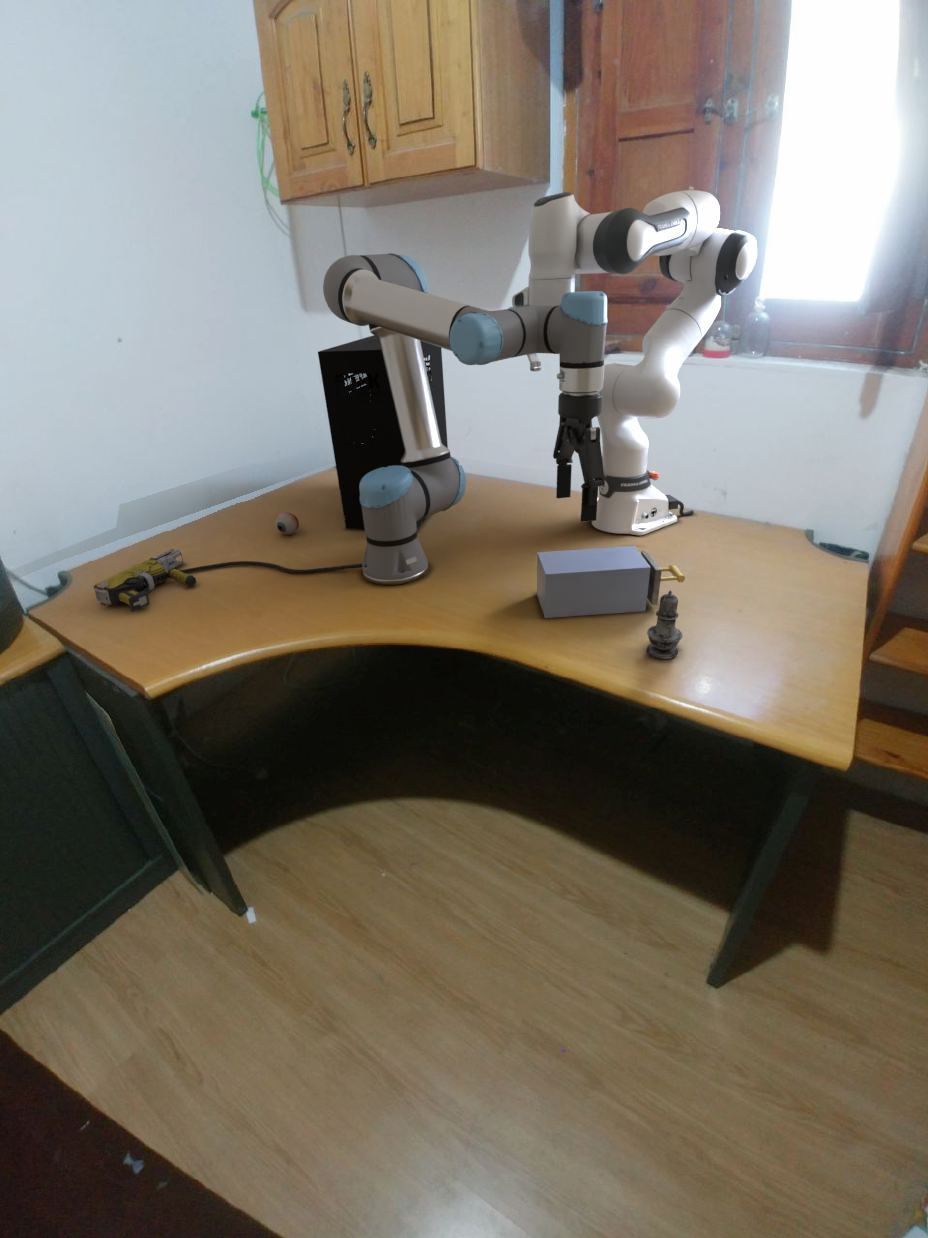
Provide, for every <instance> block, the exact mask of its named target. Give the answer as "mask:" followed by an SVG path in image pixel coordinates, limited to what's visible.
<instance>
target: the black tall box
mask: <svg viewBox="0 0 928 1238" xmlns="http://www.w3.org/2000/svg"><path fill="white" fill-rule="evenodd" d="M420 343H421V347H422V352H423V357H424V362H425V367H426V371H427V376H428V381H429V386H430V391H431V396H432V400H433V405H434V410H435V415H436V420H437V424H438V429H439V434H440V439H441V443H442V444H443V445H444V446H445V447H446V448H448V449H449V446H448V445H449V443H448V429H447V414H446V412H447V411H446V397H445V384H444V381H445V380H444V367H443V351H442V348H441V347H438V346H435V345H432V344H429V343H426V342H423V341H420ZM317 355H318V363H319V368H320V374H321V381H322V386H323V393H324V400H325V407H326V412H327V419H328V425H329V431H330V437H331V445H332V450H333V457H334V463H335V468H336V469H335V470H336V476H337V481H338V482H337V483H338V488H339V494H340V500H341V507H342V513H343V519H344V526H345V529H346V530H347V529H349V530H365V527H364V520H363V513H362V506H361V503H360V489H359V485H360V481H361V479H362V478H363V477H364V476H365V475H366V474H367V473H369V472H371V471H373V470H375V469H378V468H381V467H388V466H394V465H399V466H402V465H401V458H402V457H403V455H404V453H405V449H404V444H403V440H402V436H401V431H400V427H399V423H398V418H397V414H396V410H395V406H394V401H393V397H392V393H391V388H390V384H389V380H388V375H387V371H386V367H385V362H384V358H383V354H382V349H381V345H380V341H379V339H378V338H377V337H376V336H375V335H373V334H372V335H371V336H365V337H363V338H360V339H357V340H353V341H350V342H346V343H343V344H339V345H336V346H332V347H329V348H326V349H322V350H319V351H317ZM427 518H428V517H425V518H423V519H421V520H418V521H416V526H417V530H419V528H420V527H421V526H422V524H423V523H424V522H425V520H426V519H427Z"/></svg>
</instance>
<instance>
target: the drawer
mask: <svg viewBox="0 0 928 1238" xmlns="http://www.w3.org/2000/svg"><path fill="white" fill-rule="evenodd" d="M640 554H641V555H642V557H643V558H644V559H645V561H646V562H647V563H648V565H649V566H650V567H651V568H650V576H649V585H648V594H647V601H648V602H649V604H650V605H651V606H656V605H658V603H659V596H660V588H661V582H671V581H677V583H683V582H685V580H686V576H685V575H684V574H683V573H682V571H681V570H679V568H678V567H677V565H675V564H670V565H669V566H668V567H660V565H659V564H658V563H657V561H656V560H655V559H654V558H653V557H652V555H651V554H650V553H649V551H648V550H641V552H640ZM662 572H670V574H671V575H672V576H662Z"/></svg>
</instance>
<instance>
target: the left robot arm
mask: <svg viewBox="0 0 928 1238" xmlns="http://www.w3.org/2000/svg"><path fill="white" fill-rule="evenodd" d="M322 284H323V285H322V289H323V290H322V291H323V292H322V293H323V297H324V300H325V303H326V305H327V307H328V308H329V310H330V311H331V312H332V314H333V315H334V316H336V317H337V318H338V319H340V320H342V321H344V322H347V323H349V324H351V325H352V324H353V325H355V326H358V327H366V326H368V328H369V329H368V330H369V332H370V334H372V336H373V335H375V336H376V337H377V338H378V339H379V341H380V345H381V349H382V354H383V358H384V362H385V367H386V371H387V375H388V380H389V384H390V388H391V393H392V397H393V401H394V406H395V410H396V414H397V418H398V423H399V427H400V431H401V436H402V440H403V444H404V449H405V453H404V455H403V457H402V458H401V465H402V466H399V465H394V466H388V467H381V468H378V469H375V470H373V471H371V472H369V473H367V474H366V475H365V476H364V477H363V478H362V479H361V481H360V485H359V489H360V503H361V506H362V513H363V520H364V527H365V529H364V534H365V540H366V545H365V551H364V555H363V561H362V563H356V564H355V563H354V564H343V565H337V566H328V567H327V566H326V567H319V568H308V569H297V568H296V569H295V568H288V567H285V566H282V565H279V564H276V563H271V562H264V561H255V560H240V561H239V560H238V561H227V562H220V563H213V564H207V565H202V566H201V565H200V566H196V567H195V566H194V567H190V568H189V567H188V568H184V569H178V571H181V572H183V573H185V574H188V573H193V572H199V571H204V570H205V571H206V570H211V569H217V568H224V567H231V566H260V567H268V568H272V569H273V568H274V569H276V570H279V571H282V572H285V573H289V574H297V575H298V574H299V575H300V574H302V575H303V574H314V573H323V572H333V571H343V570H351V569H362V574H363V575H362V576H363V578H364V579H365V580H366V581H368V582H370V583H373V584H376V585H381V586H399V585H404V584H409V583H412V582H415V581H417V580H419V579H421V578H422V577H424V576H425V575H426V574H427V573H428V571H429V560H428V558H427V555H426V554H425V551H424V549H423V547H422V544H421V542H420V540H419V538H418V537H419V536H418V529H417V526H416V521H418V520H421V519H423V518H425V517H427V518H428V517H430V516H433V515H435V514H438V513H440V512H445V511H447V510H449V509H450V508H451V507H453V506H456V505H457V504H459V502H460V501H461V500H462V499H463V497H464V495H465V492H466V488H467V478H466V473H465V469H464V467H463V466H462V464H460V462H459V460H458V459H456V458H455V457H454V456H452V455H451V451H450V449H449V447H448V448H446V447H445V446H444V445H443V444H442V443H441V439H440V434H439V429H438V424H437V420H436V415H435V410H434V405H433V400H432V396H431V391H430V386H429V381H428V376H427V371H426V368H427V367H425V362H424V361H425V358H424V357H423V352H422V347H421V343H420V341H423V342H426V343H429V344H432V345H435V346H438V347H441V349H444V350H446V351H451V352H452V354H453V355H454V356H455V357H456V358H457V360H458V362H460V363H461V364H463V365H467V366H484V365H487V364H490V363H494V362H498V361H503V360H508V359H512V358H513V359H514V358H518V357H523V356H527V355H528V354H533V353H537V354H553V355H559V373H557V374H556V379H557V380H558V389H559V391H561V392H560V393H559V395H558V398H557V399H558V401H557V414H558V416H559V425H558V429H557V434H556V438H555V444H554V448H553V454H552V457H553V459H554V460H555V463H556V491H555V492H556V495H555V496H556V497H555V498H556V499H567V498H571V492H572V491H571V490H572V466H573V465H572V464H573V463H574V460H573V455H574V453H577V455H578V459H579V465H580V469H581V473H582V478H583V482H582V484H581V485H580V488H581V503H580V504H581V506H580V522H581V523H587V522H592V521H595V520H596V516H597V502H598V501H597V500H598V497H599V486H604V485H605V479H604V471H603V462H602V446H601V445H602V444H601V429H600V426H596V427H593V419H594V418H597V416H599V415H600V414H601V407H602V394H601V393H600V392H599V391H600V390H602V388H603V380H604V365H605V351H606V349H605V348H606V337H607V326H608V323H609V321H608V320H609V319H608V297H607V294H606V293H605V292H604V291H603V290H587V291H586V290H585V291H575V292H568V293H565V294H563V296H562V298H561V304H560V305H559V306H530V305H520V306H513V305H512V306H510V307H508V308H506V309H497V310H496V309H495V310H487V309H484V308H480V307H476V306H471V305H470V304H466V303H462V302H459V301H457V300H452V299H448V298H445V297H442V296H438V295H435V294H431V293H429V284H428V280H427V277H426V274H425V272H424V271H423V269H422V267H421V266H420V264H419V263H418V262H417V261H416V260H414V259H413V258H412V257H410V256H408V255H405V254H397V253H392V252H389V253H380V254H359V255H358V254H351V255H350V254H349V255H345V256H343V257H340V258H338V259H337V260H335V261H333V263H332V264H330V266H329V267H328V268H327V270H326V272H325V274H324V277H323V283H322Z"/></svg>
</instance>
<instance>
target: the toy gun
mask: <svg viewBox="0 0 928 1238" xmlns="http://www.w3.org/2000/svg"><path fill="white" fill-rule="evenodd" d="M179 557H181V560H177V558H179ZM183 564H184V558H183V552H182V551H181V550H179V549H174V548H171V549H169V550H167V551H164V552H163V553H161V554H159V555H156V556H155V557H150V558H148V559H146V560H144V561H142V562H139V563H138V564H135V565H133V566H131V567H129V568H127V569H125V570H122V571H120V572H118V573H116V574H113V575H112V576H110V577H108V578H106V579H104V580H101V581H99V582H97V583H95V584H93V590H94V594H95V598H96V600H97V603H99V604H100V605H101V606H105V607H107V606H117V605H121V604H127V605H128V606H129V607H130V611H131V612H136V611H138V610H141V609H143V608H145V607H147V606H148V607H149V606H150V599H149V595H148V593H149V592H151V591H154V590H155V586H156V585H159V584H161V583H164V582H165V581H168V579H171V580H174V581H177V582H178V583H182V584H183V585H184V584H185V585H186V586H187V587H193V586H195V585H196V584H197V578H196V576H194V575H192V574H188V573H183V572H181V571H179V569H176V568H177V567H180V565H183Z"/></svg>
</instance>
